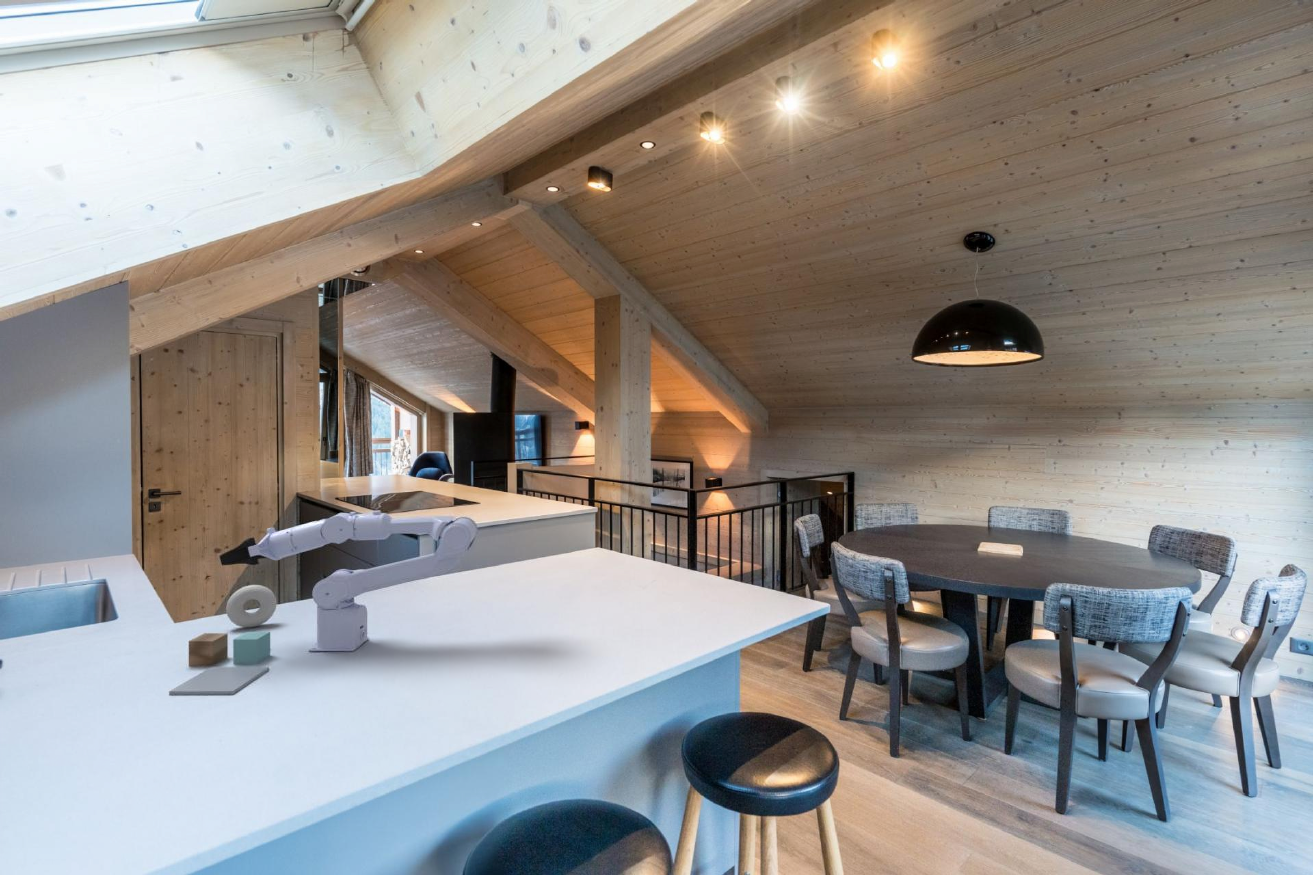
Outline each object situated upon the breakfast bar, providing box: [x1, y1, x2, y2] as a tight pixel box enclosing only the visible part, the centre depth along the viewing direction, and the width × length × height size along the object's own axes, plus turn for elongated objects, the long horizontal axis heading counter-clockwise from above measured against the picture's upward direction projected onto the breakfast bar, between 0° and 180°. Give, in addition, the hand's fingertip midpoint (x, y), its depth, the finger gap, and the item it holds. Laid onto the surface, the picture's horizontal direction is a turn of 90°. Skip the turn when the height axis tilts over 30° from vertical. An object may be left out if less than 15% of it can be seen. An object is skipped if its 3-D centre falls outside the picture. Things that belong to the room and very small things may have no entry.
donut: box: [225, 584, 278, 628], centre depth 146 cm, size 10×4×10 cm, turn 121°
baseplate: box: [168, 666, 270, 696], centre depth 116 cm, size 11×11×1 cm
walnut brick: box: [188, 632, 229, 667], centre depth 125 cm, size 5×5×5 cm
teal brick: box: [232, 631, 271, 665], centre depth 127 cm, size 5×5×5 cm
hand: (232, 558), depth 132 cm, fingers open, 7 cm apart
